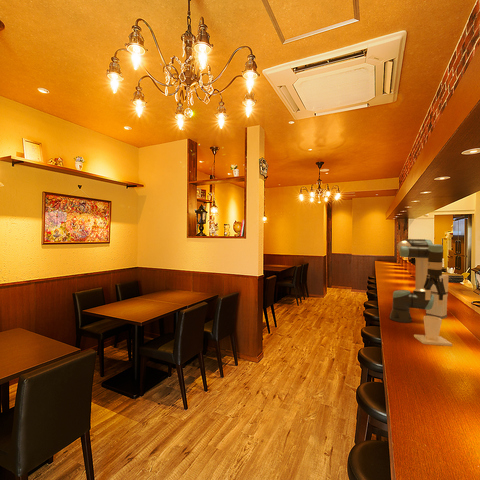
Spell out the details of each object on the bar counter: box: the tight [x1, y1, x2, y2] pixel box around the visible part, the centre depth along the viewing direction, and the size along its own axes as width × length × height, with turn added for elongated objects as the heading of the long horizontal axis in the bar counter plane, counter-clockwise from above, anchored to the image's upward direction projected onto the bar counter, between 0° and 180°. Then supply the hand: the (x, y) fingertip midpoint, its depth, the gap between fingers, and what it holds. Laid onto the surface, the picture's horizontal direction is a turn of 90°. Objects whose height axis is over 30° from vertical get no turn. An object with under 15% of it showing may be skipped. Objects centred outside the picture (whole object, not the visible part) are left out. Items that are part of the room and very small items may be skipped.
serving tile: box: [413, 334, 453, 347], centre depth 170 cm, size 12×16×2 cm
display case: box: [425, 274, 449, 320], centre depth 225 cm, size 11×11×35 cm
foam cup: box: [422, 315, 443, 340], centre depth 170 cm, size 10×9×13 cm
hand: (433, 302), depth 170 cm, fingers open, 13 cm apart
